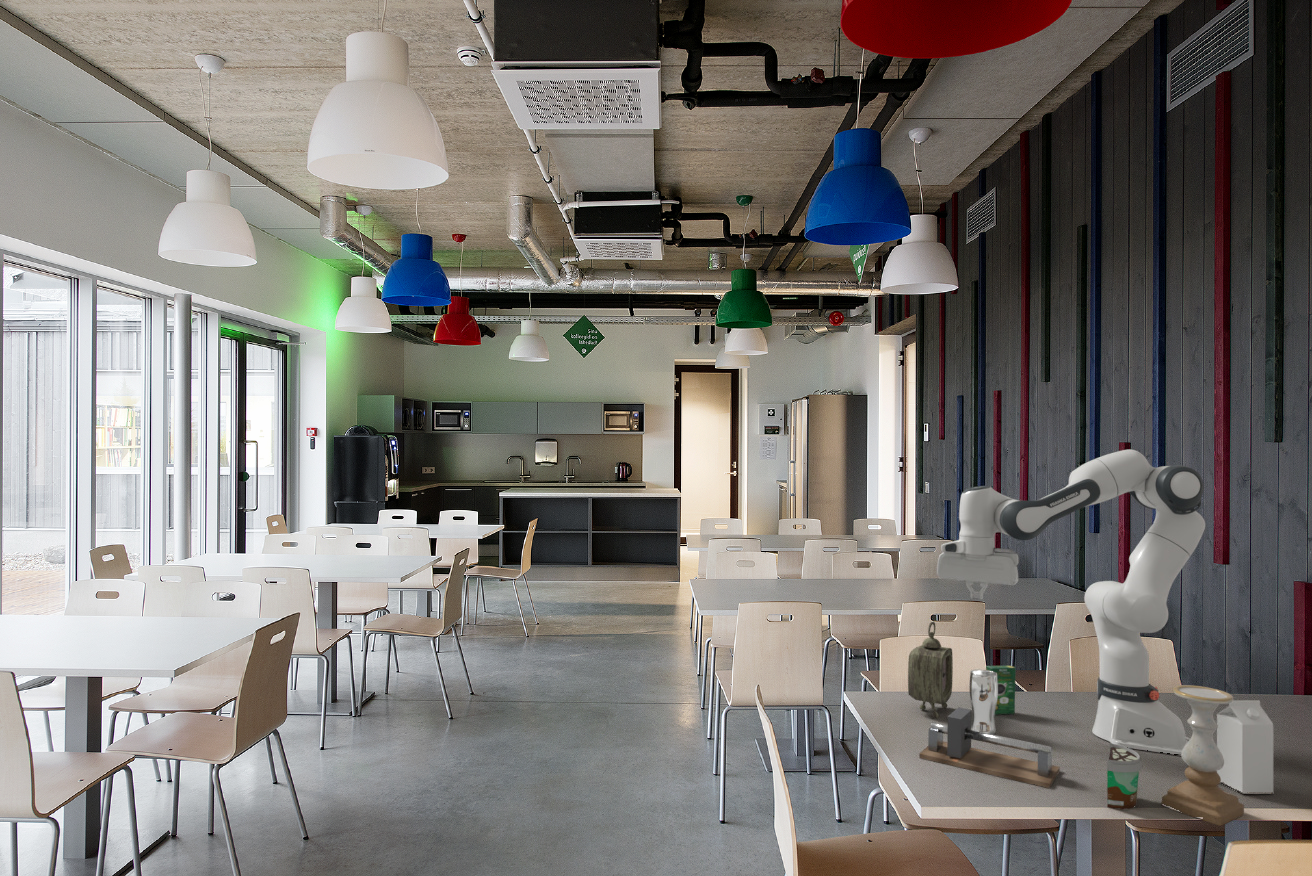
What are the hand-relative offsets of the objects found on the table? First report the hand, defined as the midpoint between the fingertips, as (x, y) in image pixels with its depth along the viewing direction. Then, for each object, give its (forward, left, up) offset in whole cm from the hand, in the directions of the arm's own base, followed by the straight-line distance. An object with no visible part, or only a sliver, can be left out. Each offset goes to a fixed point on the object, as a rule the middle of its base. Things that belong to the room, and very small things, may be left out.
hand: (976, 598), depth 214 cm
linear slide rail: (-10, +27, -34) cm, 44 cm away
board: (-10, +27, -34) cm, 44 cm away
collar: (-3, +27, -32) cm, 42 cm away
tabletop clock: (+13, -4, -34) cm, 37 cm away
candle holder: (-51, +25, -34) cm, 66 cm away
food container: (-38, +31, -34) cm, 59 cm away
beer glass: (-3, +3, -34) cm, 34 cm away
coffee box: (-3, -15, -34) cm, 37 cm away
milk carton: (-58, +6, -34) cm, 67 cm away
